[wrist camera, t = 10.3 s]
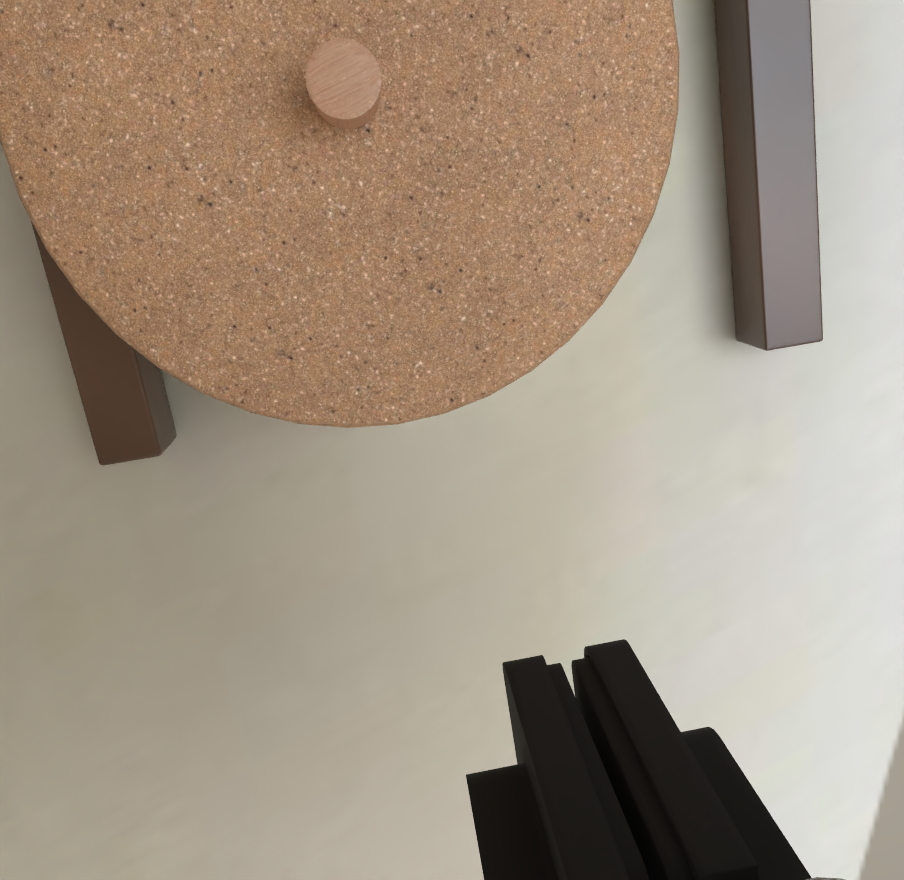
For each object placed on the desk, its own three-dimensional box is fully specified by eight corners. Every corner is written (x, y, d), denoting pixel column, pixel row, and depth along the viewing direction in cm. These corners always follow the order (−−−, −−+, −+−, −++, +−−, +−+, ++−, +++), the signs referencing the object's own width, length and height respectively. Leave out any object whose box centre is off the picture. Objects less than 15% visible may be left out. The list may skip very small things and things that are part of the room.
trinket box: (36, 17, 19) (-259, -154, 10) (460, -200, 19) (540, -574, 10) (266, 425, 22) (194, 571, 13) (637, 243, 22) (824, 265, 13)
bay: (-67, -238, 18) (-114, -286, 16) (757, -348, 19) (796, -405, 17) (120, 446, 22) (99, 467, 20) (789, 331, 23) (823, 341, 21)
